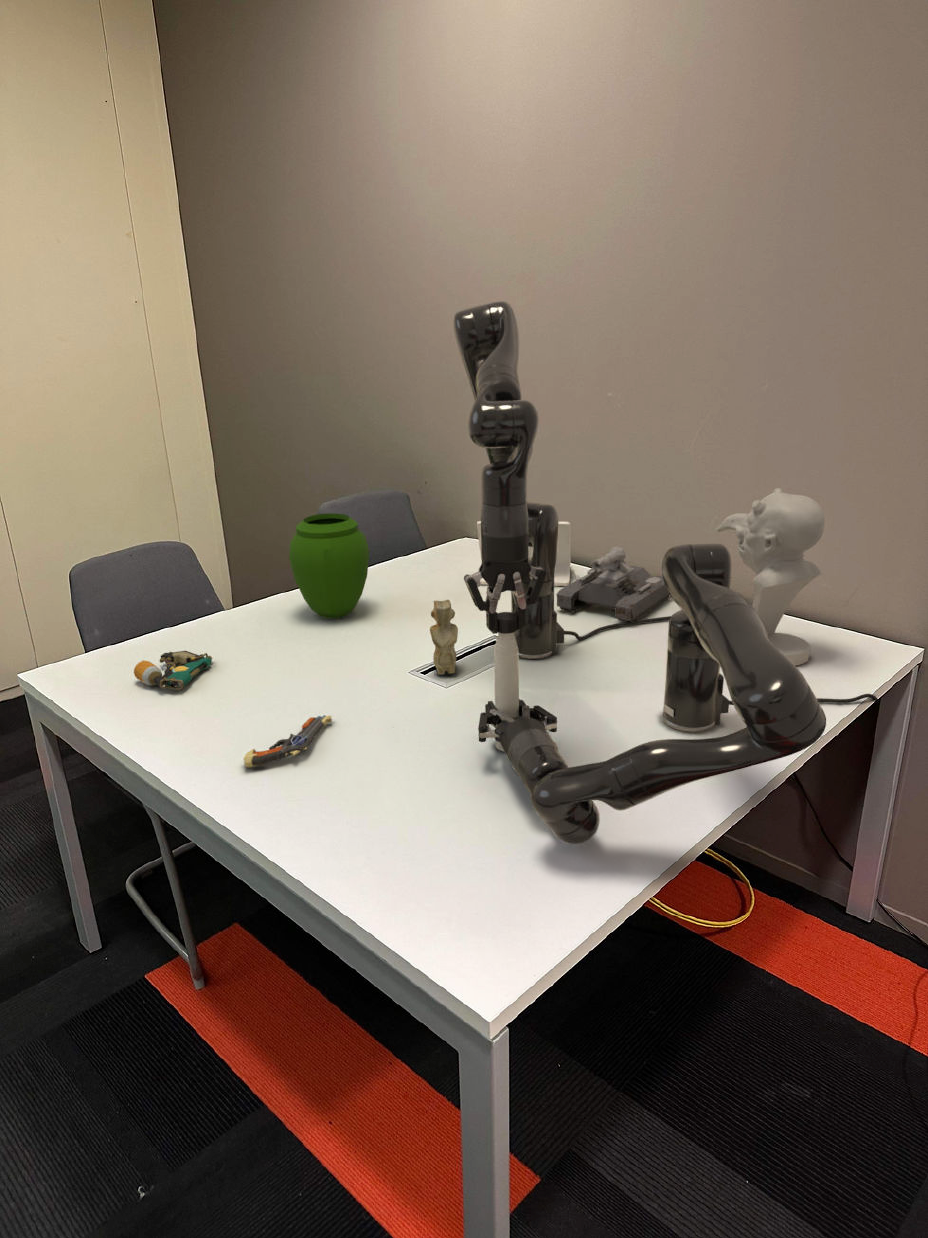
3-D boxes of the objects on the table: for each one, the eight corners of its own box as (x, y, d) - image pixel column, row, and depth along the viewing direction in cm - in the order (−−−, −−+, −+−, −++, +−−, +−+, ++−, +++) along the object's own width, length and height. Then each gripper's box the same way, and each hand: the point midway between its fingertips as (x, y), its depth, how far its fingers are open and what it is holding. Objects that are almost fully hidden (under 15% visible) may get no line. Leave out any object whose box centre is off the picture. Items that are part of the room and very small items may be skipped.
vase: (389, 608, 216) (383, 514, 208) (339, 633, 201) (330, 533, 192) (330, 596, 226) (322, 506, 218) (278, 619, 211) (267, 523, 202)
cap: (491, 626, 142) (491, 613, 142) (513, 624, 143) (513, 610, 143) (498, 635, 139) (498, 621, 138) (521, 632, 140) (520, 618, 139)
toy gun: (238, 757, 142) (294, 755, 140) (282, 713, 160) (332, 710, 158) (241, 772, 143) (297, 770, 141) (284, 726, 161) (334, 724, 159)
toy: (603, 584, 229) (605, 530, 224) (673, 597, 218) (677, 540, 213) (555, 612, 210) (556, 553, 205) (630, 627, 199) (633, 566, 194)
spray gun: (177, 659, 191) (231, 671, 185) (120, 684, 176) (176, 698, 171) (176, 641, 190) (230, 653, 184) (118, 665, 175) (174, 678, 169)
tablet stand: (569, 585, 229) (570, 524, 223) (476, 584, 232) (475, 523, 226) (570, 566, 246) (571, 508, 240) (484, 564, 249) (483, 507, 243)
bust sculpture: (744, 623, 200) (759, 474, 187) (830, 658, 180) (852, 494, 167) (692, 637, 193) (703, 483, 180) (775, 674, 173) (793, 504, 160)
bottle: (514, 738, 151) (513, 614, 143) (522, 749, 148) (521, 623, 139) (492, 742, 150) (490, 617, 142) (500, 753, 146) (497, 626, 138)
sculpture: (458, 662, 183) (456, 596, 178) (460, 676, 176) (457, 608, 171) (431, 663, 183) (428, 597, 177) (431, 677, 176) (428, 609, 171)
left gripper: (538, 519, 140) (538, 617, 146) (455, 528, 137) (458, 628, 143) (555, 530, 133) (554, 632, 140) (468, 539, 130) (471, 644, 136)
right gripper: (487, 778, 133) (463, 728, 149) (574, 765, 136) (541, 718, 152) (486, 735, 131) (462, 689, 146) (575, 724, 133) (542, 679, 149)
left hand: (505, 629), depth 141 cm, fingers closed on cap, 3 cm apart
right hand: (503, 704), depth 149 cm, fingers closed on bottle, 4 cm apart
